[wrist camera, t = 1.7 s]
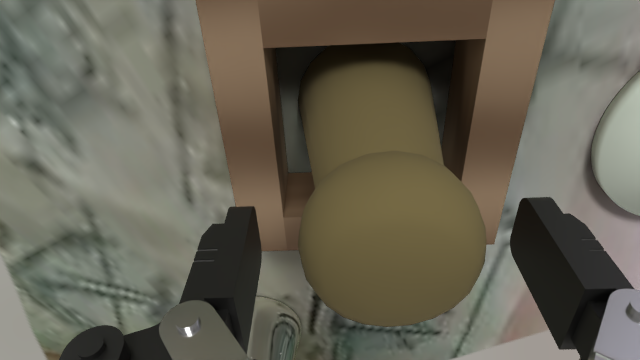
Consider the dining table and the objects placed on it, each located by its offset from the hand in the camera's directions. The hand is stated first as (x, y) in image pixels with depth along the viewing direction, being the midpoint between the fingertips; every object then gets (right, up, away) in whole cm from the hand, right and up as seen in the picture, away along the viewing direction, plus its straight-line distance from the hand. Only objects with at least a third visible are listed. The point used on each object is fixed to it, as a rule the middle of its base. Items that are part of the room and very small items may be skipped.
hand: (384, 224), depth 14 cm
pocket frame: (0, +5, +7) cm, 8 cm away
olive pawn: (0, +5, +7) cm, 8 cm away
